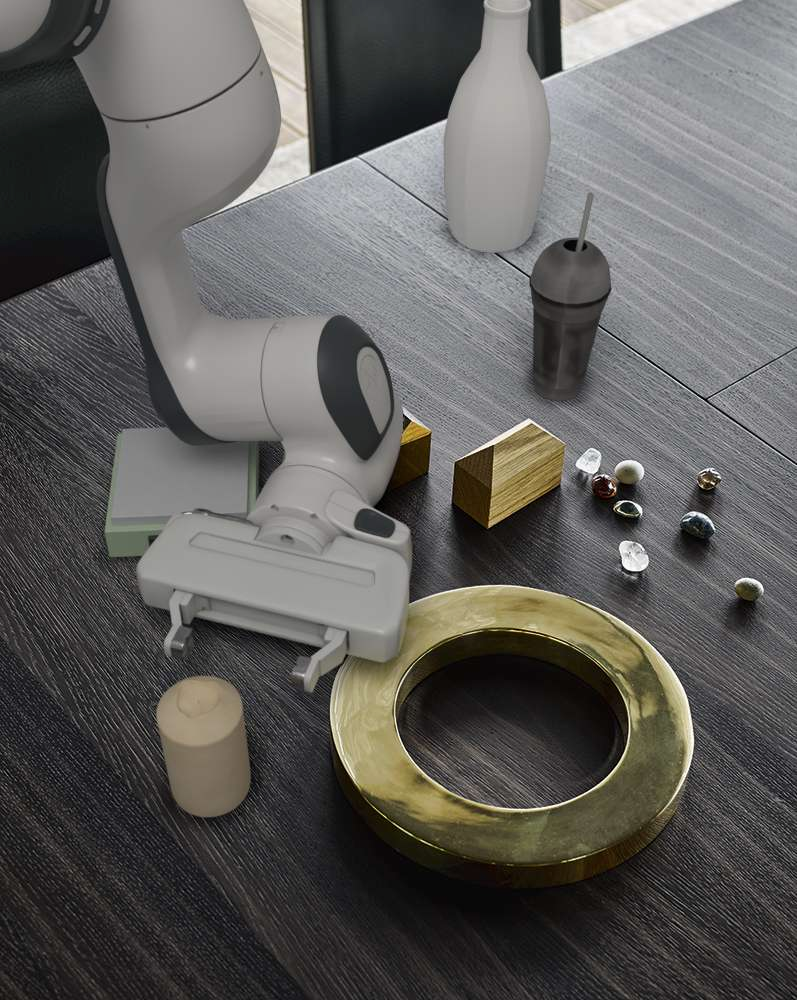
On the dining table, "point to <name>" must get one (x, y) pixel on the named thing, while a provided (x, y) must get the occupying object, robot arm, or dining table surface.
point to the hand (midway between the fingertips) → (236, 669)
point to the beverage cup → (567, 311)
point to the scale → (173, 484)
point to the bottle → (497, 137)
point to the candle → (204, 745)
